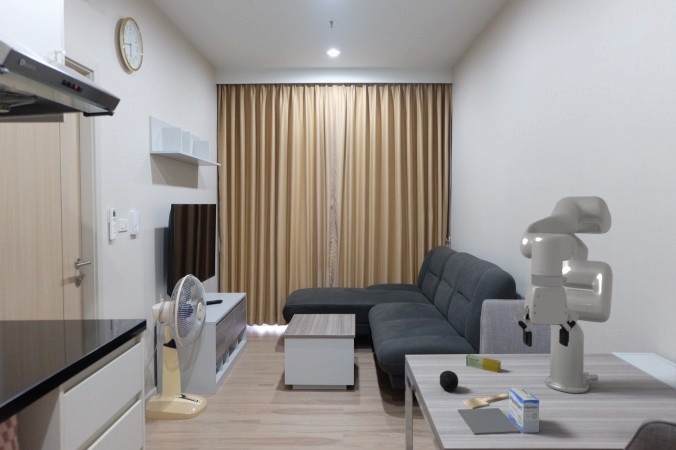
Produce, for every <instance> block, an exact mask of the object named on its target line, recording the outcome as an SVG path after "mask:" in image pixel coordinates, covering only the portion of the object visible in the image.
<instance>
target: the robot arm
mask: <svg viewBox="0 0 676 450" xmlns="http://www.w3.org/2000/svg"><path fill="white" fill-rule="evenodd" d="M611 214H612V213H611V212H610V208H609V206H608V203H607V202H606V201H605V200H604V199H603V198H601V197H600V196H597V195H594V196H590V195H588V196H587V195H585V196H566V197H563V198H561V199H559V200H558V201H556V203H555V206H554V208H553V210H552V212H551V213H550V215H549V216H546V217H544V218H541V219H538V220H536V221H533V222H532V223H531V224H529V225H528V226H527V227H526V229H525V231H524V232H523V234H522V236H521V239H520V243H519V250H520V253H521V255H522V256H523V257H524V258H525V259H529V260H531V270H530V272H531V274H530V278H531V279H530V284H529V285H527V286H526V287H527V288H526V290H525V291H526V292H525V298H524V304H523V305H524V306H523V308H521V309H519V310H518V311H516V312H514V313H513V314H512V316H513V318H514V321H515V322H516V324H517V326H519V327H520V329H522V342H523V344H524V345H526V346H527V347H528V348H530V347H533V332H532V331H531V329H533V327H534V326H535V325H536V326H537V325H539V326H542V325H543V326H548V325H550V363H549V364H550V368H549V369H550V370H549V371H550V373H549V374H550V375H547V376H546V377H545V379H544V383H545V385H547V386H548V387H550V388H551V389H554V390H556V391H560V392H563V393H569V394H570V393H572V394H583V393H587V392H588V391H589V389H590V387H589V386H590V385H589V384H588V382H590V381H598V380H599V376H598V374H590V373H589V372H588V371H587V372H586V371H585V372H584V364H585V362H584V357H585V354H584V349H585V346H584V345H585V344H584V343H585V336H584V331H583V329H582V327H581V326H580V325H579V323H578V321H582V322H591V323H600V324H601V323H602V324H603V323H605V322H607V321H608V320H609V319H610V316H611V311H612V296H613V278H614V276H613V269H612V266H611V265H610V264H609V263H607V262H605V261H601V260H589V259H588V258H589V257H588V256H589V248H588V246H587V244H585V242H584V241H583V240H582V239H581V238H579V236H578V235H577V234H582V235H583V234H585V235H587V234H589V235H603V234H606V233H608V232H609V231H610V229H611V227H612V215H611ZM522 317H523V319H524V320H525V321H523V320H522Z"/></svg>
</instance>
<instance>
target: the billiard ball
mask: <svg viewBox="0 0 676 450" xmlns="http://www.w3.org/2000/svg"><path fill="white" fill-rule="evenodd" d="M438 381H439V385H440V387H441V388H442V389H444V390H445V391H449V392H452V391H454V390H456V389H457V388H458V385H459V377H458V375H457V373H455V372H454V371H452V370H444V371H442V372H441V373H440V375H439V378H438Z"/></svg>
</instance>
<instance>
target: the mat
mask: <svg viewBox="0 0 676 450" xmlns="http://www.w3.org/2000/svg"><path fill="white" fill-rule="evenodd" d="M457 412H458V414H459V415H460V416H461V418H462V419H463V420H464V422H465V424H467V426H468V427H469V429H470V430H471V432H472V433H473V435H491V434H492V435H495V434H497V435H498V434H517V433H521V430H520V429H519V428H518V427H517V426H516V425H515V424H514V423H513V422H512V421H511V420H510V419H509V417H507V415H506V414H505V413H504V412H503V411H502V409H500V408H499V407H491V408H489V407H486V408H475V409H472V408H465V409H457Z"/></svg>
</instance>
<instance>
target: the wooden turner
mask: <svg viewBox="0 0 676 450" xmlns="http://www.w3.org/2000/svg"><path fill="white" fill-rule="evenodd" d="M505 399H509V393H508V392H504V393H500V394H495V395H492V396H488V397H483V398H480V397H475V398H471V399H467V400H466V399H465V400H462V404H464V405H465V406H466V407H469V409H480V408H482V407H487V406H489V405H490V403H492V402H493V403H494V402H495V401H496V402H497V401H500V400H505Z"/></svg>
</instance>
